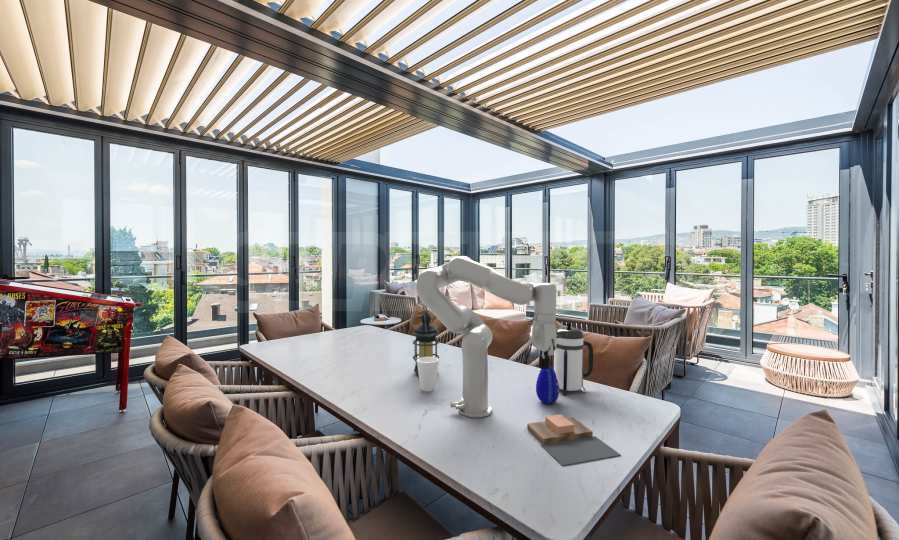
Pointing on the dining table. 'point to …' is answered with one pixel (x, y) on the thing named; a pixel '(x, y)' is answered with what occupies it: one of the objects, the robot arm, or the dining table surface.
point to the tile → (559, 424)
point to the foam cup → (427, 372)
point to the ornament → (547, 386)
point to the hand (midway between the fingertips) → (544, 368)
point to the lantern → (425, 338)
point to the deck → (551, 436)
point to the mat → (579, 450)
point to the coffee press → (571, 358)
